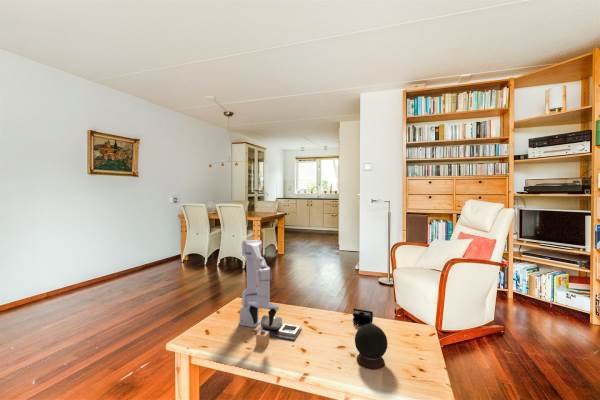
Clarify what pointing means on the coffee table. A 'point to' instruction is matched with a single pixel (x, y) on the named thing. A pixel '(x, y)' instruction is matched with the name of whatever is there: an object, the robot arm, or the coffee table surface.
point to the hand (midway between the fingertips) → (262, 324)
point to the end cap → (362, 317)
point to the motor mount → (279, 328)
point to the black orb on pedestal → (371, 346)
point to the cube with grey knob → (262, 338)
